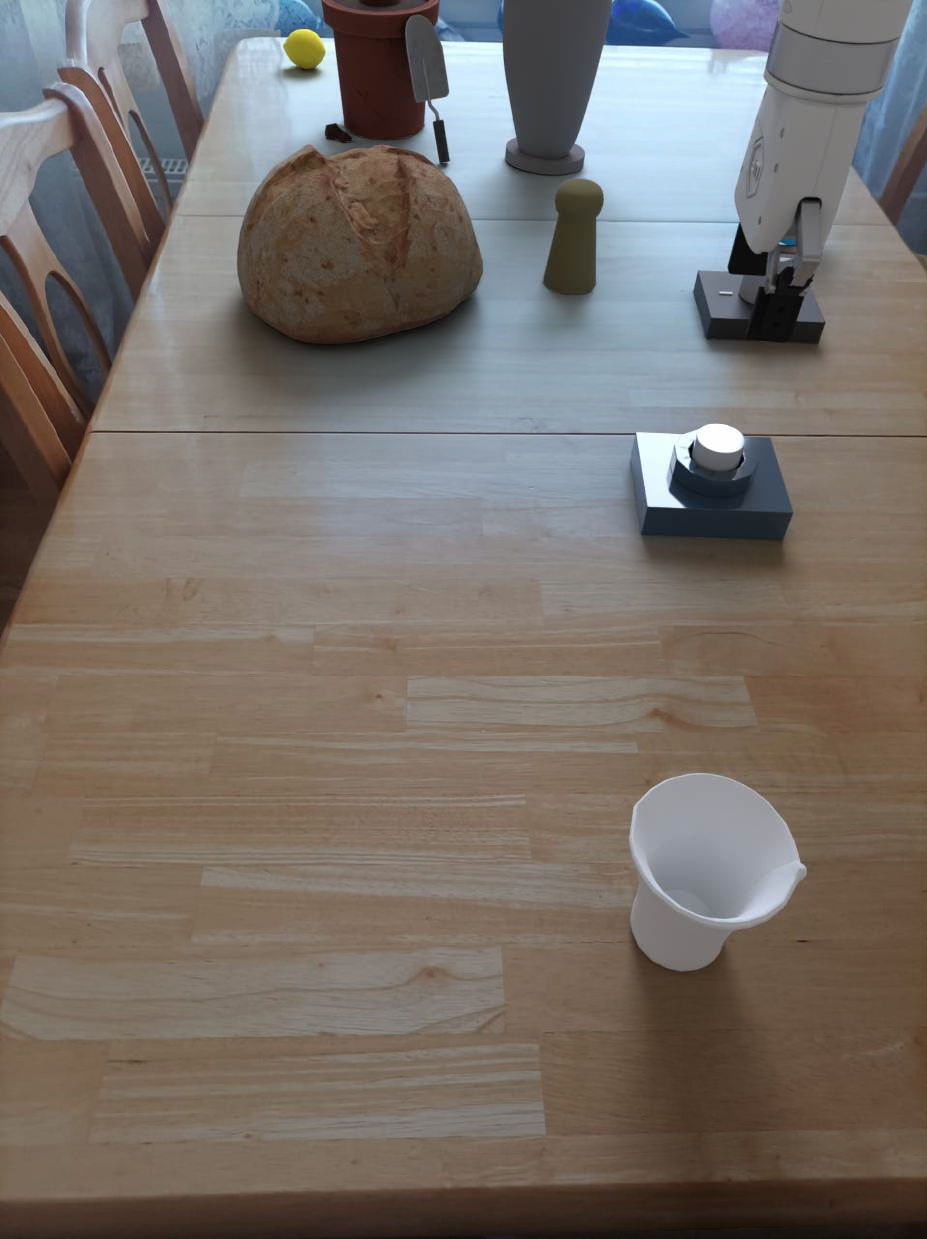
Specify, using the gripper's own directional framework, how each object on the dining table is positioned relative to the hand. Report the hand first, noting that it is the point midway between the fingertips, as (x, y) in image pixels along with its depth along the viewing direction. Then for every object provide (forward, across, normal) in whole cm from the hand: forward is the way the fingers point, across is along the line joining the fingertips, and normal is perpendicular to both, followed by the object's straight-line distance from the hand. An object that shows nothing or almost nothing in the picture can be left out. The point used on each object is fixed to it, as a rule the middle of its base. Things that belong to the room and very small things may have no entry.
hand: (756, 305), depth 72 cm
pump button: (+12, +3, -1) cm, 13 cm away
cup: (+17, +43, -7) cm, 46 cm away
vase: (+17, -65, -14) cm, 69 cm away
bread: (+17, -28, -34) cm, 47 cm away
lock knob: (+14, -28, +9) cm, 32 cm away
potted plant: (+17, -73, -36) cm, 83 cm away
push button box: (+17, +3, -1) cm, 17 cm away
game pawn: (+17, -33, -12) cm, 39 cm away
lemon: (+17, -96, -52) cm, 111 cm away
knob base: (+17, -28, +9) cm, 34 cm away
